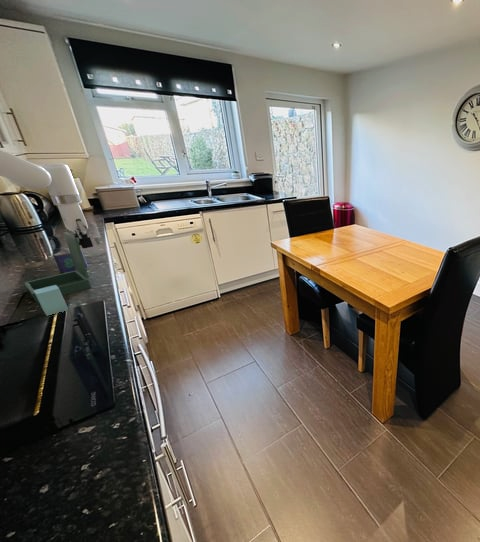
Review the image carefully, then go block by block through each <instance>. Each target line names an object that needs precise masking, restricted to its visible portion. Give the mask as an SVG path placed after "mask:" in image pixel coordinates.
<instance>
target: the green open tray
mask: <svg viewBox="0 0 480 542" xmlns="http://www.w3.org/2000/svg"><path fill="white" fill-rule="evenodd" d="M23 285H24V286H25V287H26V290H27V292H28V293H29V294H30V296H31V297H32V298H33V300H34V302H35V303H36V304H37V303H39V301H38V299H37V297H36V295H35V293H34V291H33V290H37V289H41V288H45V287H49V286H53V285H56V286H57V287H58V288H59V289H60V292H61V294H62V296H63V297H64V296H66V295H70V294H74V293H77V292H82V291H85V290H88V289H92V285H91V283H90V280H89V278H88V279H86V278H85V277H84V276H83V275H81V274H80V273H79V272H78V271H77V270H75V271H70V272H66V273H59V274H54V275H50V276H46V277H42V278H38V279H34V280H29V281H25V282H23Z"/></svg>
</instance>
